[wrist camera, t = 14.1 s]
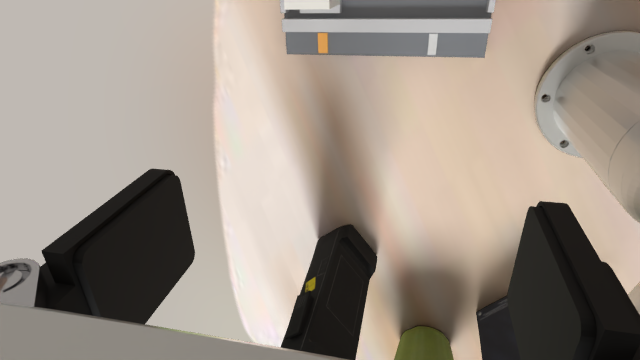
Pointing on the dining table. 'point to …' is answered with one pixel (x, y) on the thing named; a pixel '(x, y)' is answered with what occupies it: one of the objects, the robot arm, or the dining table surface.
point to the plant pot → (423, 345)
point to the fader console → (392, 28)
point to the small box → (497, 332)
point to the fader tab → (314, 6)
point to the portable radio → (333, 296)
